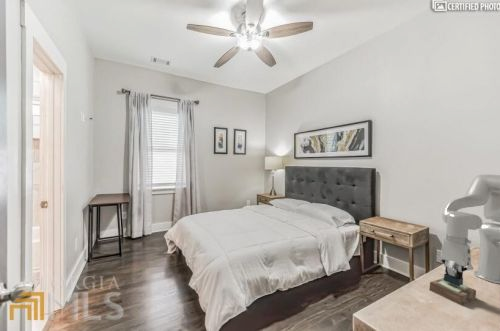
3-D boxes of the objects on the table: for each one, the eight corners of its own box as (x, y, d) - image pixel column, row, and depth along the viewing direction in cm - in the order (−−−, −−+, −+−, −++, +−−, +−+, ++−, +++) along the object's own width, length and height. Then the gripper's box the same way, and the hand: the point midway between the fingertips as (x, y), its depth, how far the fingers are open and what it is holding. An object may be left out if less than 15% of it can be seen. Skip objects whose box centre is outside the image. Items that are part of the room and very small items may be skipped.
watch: (464, 283, 105) (465, 260, 105) (456, 286, 102) (457, 263, 102) (450, 277, 110) (451, 256, 110) (441, 280, 107) (442, 258, 107)
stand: (444, 285, 114) (445, 276, 114) (475, 298, 104) (476, 289, 104) (429, 290, 109) (430, 281, 109) (460, 305, 98) (461, 295, 98)
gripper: (483, 244, 100) (480, 284, 100) (439, 233, 115) (437, 268, 115) (475, 246, 97) (472, 287, 97) (432, 234, 112) (429, 270, 112)
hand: (453, 276), depth 106 cm, fingers closed on watch, 3 cm apart
